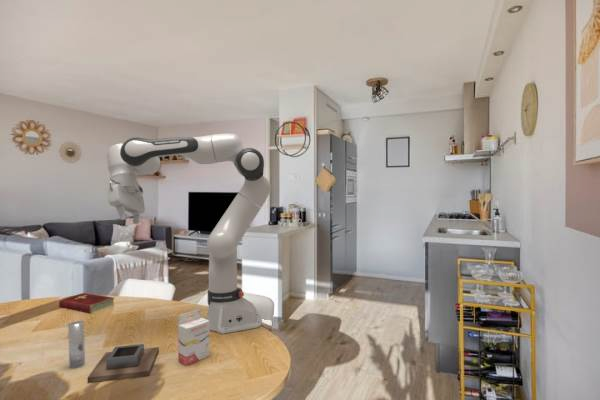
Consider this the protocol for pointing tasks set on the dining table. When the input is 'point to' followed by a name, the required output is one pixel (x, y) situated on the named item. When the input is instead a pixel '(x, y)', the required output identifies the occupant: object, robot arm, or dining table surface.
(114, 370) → the socket board
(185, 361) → the ink cartridge box
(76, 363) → the steel pin
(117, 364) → the socket collar
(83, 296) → the hardcover book
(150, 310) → the dining table surface
